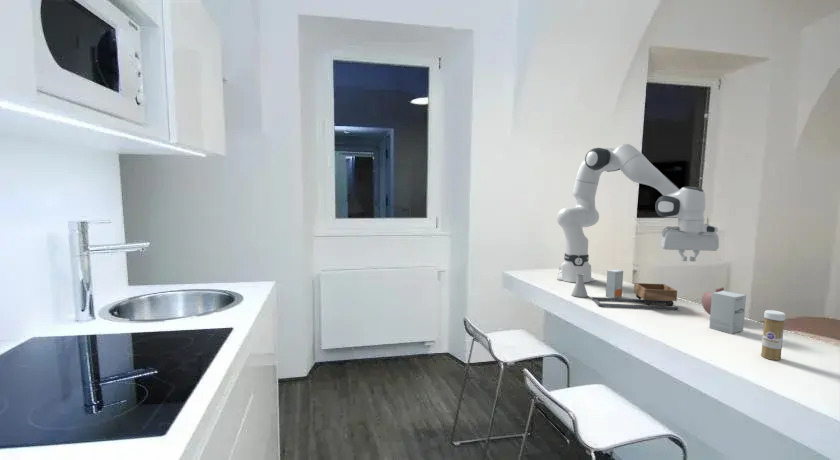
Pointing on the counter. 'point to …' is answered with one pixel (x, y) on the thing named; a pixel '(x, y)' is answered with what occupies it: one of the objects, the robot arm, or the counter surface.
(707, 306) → the mortar and pestle
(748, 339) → the counter surface
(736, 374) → the counter surface
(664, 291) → the cart
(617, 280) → the skincare box
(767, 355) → the sprinkles bottle
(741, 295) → the supplement box
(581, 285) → the flask
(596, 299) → the rail track
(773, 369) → the counter surface
